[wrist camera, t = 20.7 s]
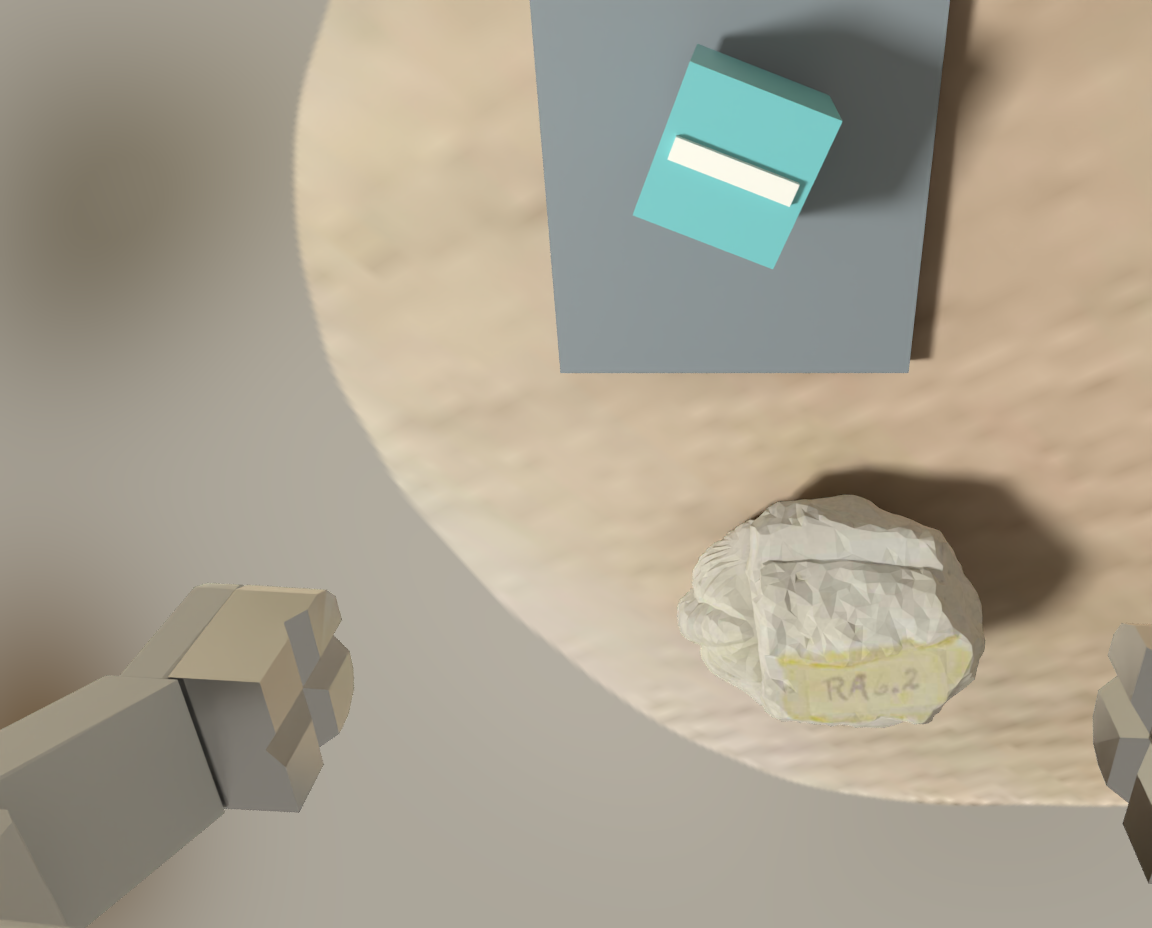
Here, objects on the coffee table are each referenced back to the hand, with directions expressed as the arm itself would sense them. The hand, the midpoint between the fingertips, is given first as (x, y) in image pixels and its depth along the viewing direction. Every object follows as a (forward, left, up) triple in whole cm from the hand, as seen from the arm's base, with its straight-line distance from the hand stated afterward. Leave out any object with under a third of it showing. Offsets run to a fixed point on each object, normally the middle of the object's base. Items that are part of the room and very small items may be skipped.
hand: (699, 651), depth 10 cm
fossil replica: (-19, -4, -29) cm, 35 cm away
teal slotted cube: (0, 0, -27) cm, 27 cm away
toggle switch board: (0, 0, -29) cm, 29 cm away
